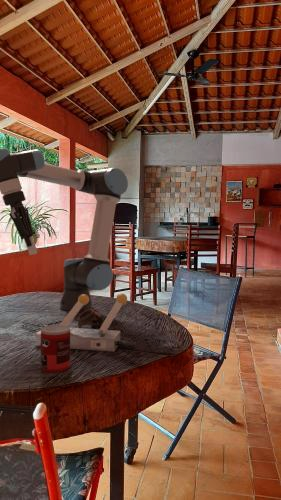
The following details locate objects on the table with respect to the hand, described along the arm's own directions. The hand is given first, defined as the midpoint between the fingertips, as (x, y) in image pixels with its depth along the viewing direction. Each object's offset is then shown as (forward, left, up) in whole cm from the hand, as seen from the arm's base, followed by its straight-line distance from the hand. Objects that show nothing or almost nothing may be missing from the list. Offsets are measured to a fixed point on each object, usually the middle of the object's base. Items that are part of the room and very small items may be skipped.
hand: (33, 254), depth 140 cm
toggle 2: (+15, +31, -23) cm, 41 cm away
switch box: (+15, +26, -28) cm, 41 cm away
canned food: (+35, +23, -28) cm, 50 cm away
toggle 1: (+15, +17, -23) cm, 32 cm away
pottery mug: (-5, +21, -28) cm, 36 cm away
